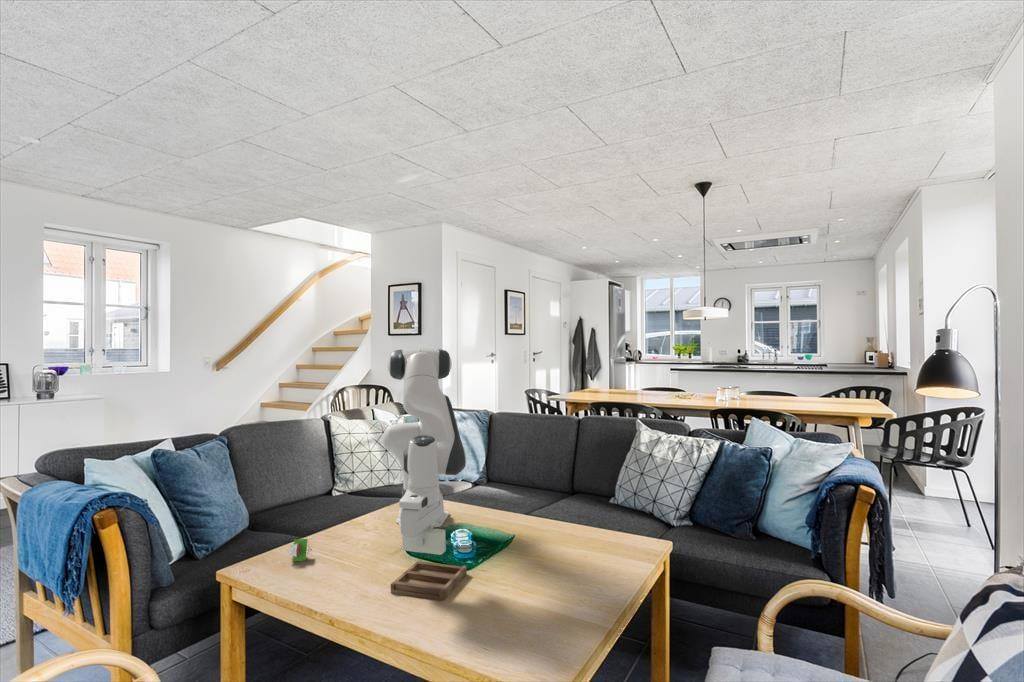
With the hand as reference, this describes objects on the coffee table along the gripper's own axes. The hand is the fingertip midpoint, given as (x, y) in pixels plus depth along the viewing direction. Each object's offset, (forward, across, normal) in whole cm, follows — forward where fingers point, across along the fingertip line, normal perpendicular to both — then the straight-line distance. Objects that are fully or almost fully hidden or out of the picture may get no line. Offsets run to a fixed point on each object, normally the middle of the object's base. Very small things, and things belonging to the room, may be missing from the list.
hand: (424, 542), depth 155 cm
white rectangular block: (+2, 0, 0) cm, 2 cm away
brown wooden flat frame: (+13, -4, 0) cm, 14 cm away
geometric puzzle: (+14, -7, -48) cm, 50 cm away
